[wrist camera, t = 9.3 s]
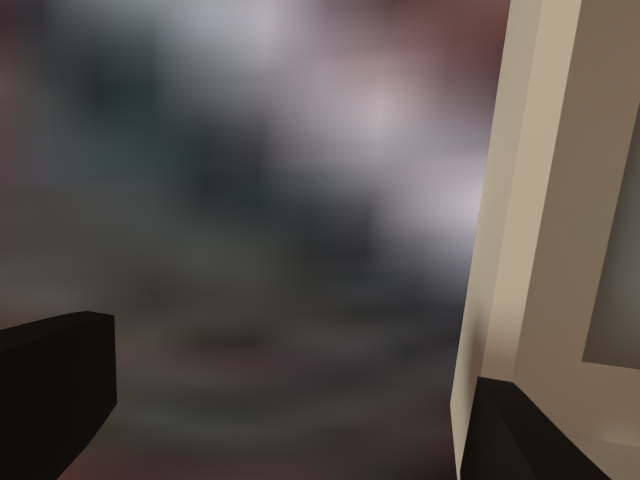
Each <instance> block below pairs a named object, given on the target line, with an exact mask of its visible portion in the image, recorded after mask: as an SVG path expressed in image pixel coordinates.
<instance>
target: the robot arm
mask: <svg viewBox="0 0 640 480" xmlns="http://www.w3.org/2000/svg"><path fill="white" fill-rule="evenodd" d="M116 404H117V389H116V356H115V323H114V315H108V314H102V313H96V312H91V311H83V312H75V313H69V314H64V315H59V316H55V317H50V318H46V319H42V320H38V321H34V322H30V323H26V324H22V325H18V326H15V327H11V328H7V329H3V330H0V480H56V479H57V478H58V477H59V476H60V475H61V474H62V473H63V472H64V471H65V470H66V468H67V467H68V466H69V465H70V464H71V463H72V462H73V461H74V460H75V459H76V458H77V456H78V455H79V454H80V453H81V452H82V451H83V450H84V449H85V448H86V446H87V445H88V444H89V443H90V441H91V440H92V439H93V437H94V436H95V434H96V433H97V432H98V430H99V429H100V428H101V426H102V425H103V423H104V422H105V420H106V419H107V417H108V416H109V414H110V413H111V411H112V410H113V408H114V407H115V406H116ZM460 480H612V479H611V478H610V477H608V476H607V475H606V474H605V473H604V472H603V471H602V470H601V469H600V468H599V467H598V466H596V465H595V464H594V463H593V462H592V461H591V460H590V459H589V458H588V457H587V456H586V455H585V454H584V453H583V452H582V451H581V450H580V449H579V448H578V447H577V446H576V445H575V444H574V443H573V442H572V441H571V440H570V439H569V438H568V437H567V436H566V435H565V434H564V433H563V432H562V431H561V430H560V429H559V428H558V427H557V426H556V425H555V424H554V423H553V422H552V421H551V420H550V419H549V418H548V417H547V416H546V415H545V414H544V413H543V412H542V411H541V410H540V409H539V408H538V407H537V406H536V405H535V404H534V403H533V401H532V400H531V399H530V398H529V397H528V396H527V395H526V394H525V393H524V392H523V391H522V390H521V389H520V388H519V387H518V386H517V385H515V384H514V383H513V382H509V381H503V380H497V379H491V378H485V377H479V376H478V378H477V383H476V388H475V393H474V399H473V404H472V409H471V415H470V420H469V425H468V430H467V436H466V441H465V446H464V452H463V457H462V462H461V467H460Z"/></svg>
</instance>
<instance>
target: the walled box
mask: <svg viewBox="0 0 640 480" xmlns="http://www.w3.org/2000/svg"><path fill="white" fill-rule="evenodd" d="M478 376H479V377H485V378H491V379H497V380H503V381H509V382H513V383H514V384H515V385H517V386H518V387H519V388H520V389H521V390H522V391H523V392H524V393H525V394H526V395H527V396H528V397H529V398H530V399H531V400H532V401H533V403H534V404H535V405H536V406H537V407H538V408H539V409H540V410H541V411H542V412H543V413H544V414H545V415H546V416H547V417H548V418H549V419H550V420H551V421H552V422H553V423H554V424H555V425H556V426H557V427H558V428H559V429H560V430H561V431H562V432H563V433H564V434H565V435H566V436H567V437H568V438H569V439H570V440H571V441H572V442H573V443H574V444H575V445H576V446H577V447H578V448H579V449H580V450H581V451H582V452H583V453H584V454H585V455H586V456H587V457H588V458H589V459H590V460H591V461H592V462H593V463H594V464H595V465H596V466H598V467H599V468H600V469H601V470H602V471H603V472H604V473H605V474H606V475H607V476H608V477H610V478H611V479H612V480H640V0H511V3H510V9H509V16H508V23H507V29H506V36H505V43H504V49H503V56H502V63H501V69H500V76H499V83H498V89H497V96H496V103H495V109H494V116H493V123H492V129H491V136H490V143H489V149H488V156H487V163H486V169H485V176H484V183H483V189H482V196H481V203H480V209H479V216H478V223H477V229H476V236H475V243H474V249H473V256H472V263H471V269H470V276H469V283H468V289H467V296H466V303H465V309H464V316H463V323H462V329H461V336H460V343H459V349H458V356H457V362H456V369H455V376H454V382H453V389H452V396H451V402H450V408H451V418H452V429H453V439H454V449H455V459H456V469H457V480H460V467H461V462H462V457H463V452H464V446H465V441H466V436H467V430H468V425H469V420H470V415H471V409H472V404H473V399H474V393H475V388H476V383H477V378H478Z"/></svg>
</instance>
